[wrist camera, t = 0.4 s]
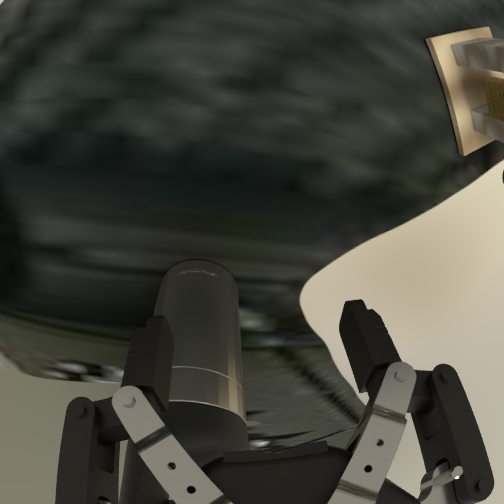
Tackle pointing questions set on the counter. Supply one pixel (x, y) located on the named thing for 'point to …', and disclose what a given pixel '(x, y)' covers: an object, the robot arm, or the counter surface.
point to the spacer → (495, 96)
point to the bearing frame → (469, 83)
